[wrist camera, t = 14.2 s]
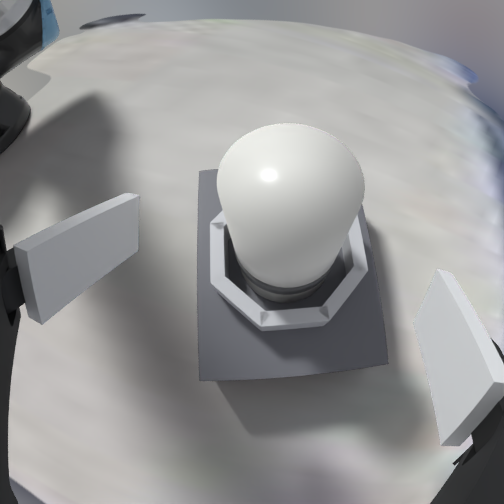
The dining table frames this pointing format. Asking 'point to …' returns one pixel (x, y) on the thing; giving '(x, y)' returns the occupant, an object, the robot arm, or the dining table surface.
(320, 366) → the octagonal socket base
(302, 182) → the white glossy rounded part
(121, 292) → the dining table surface
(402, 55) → the dining table surface
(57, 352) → the dining table surface
